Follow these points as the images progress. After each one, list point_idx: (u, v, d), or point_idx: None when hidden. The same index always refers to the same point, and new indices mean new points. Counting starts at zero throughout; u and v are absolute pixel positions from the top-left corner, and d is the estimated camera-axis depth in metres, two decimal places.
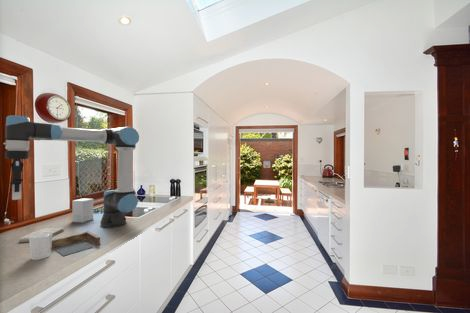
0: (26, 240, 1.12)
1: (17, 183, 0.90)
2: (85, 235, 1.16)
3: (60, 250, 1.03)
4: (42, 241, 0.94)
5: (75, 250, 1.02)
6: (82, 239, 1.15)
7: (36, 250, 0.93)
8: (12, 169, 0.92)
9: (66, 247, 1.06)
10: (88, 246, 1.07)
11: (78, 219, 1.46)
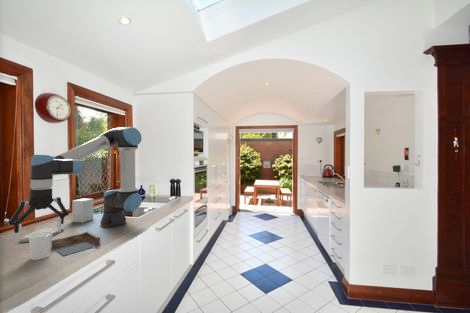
0: (26, 240, 1.12)
1: (11, 224, 0.89)
2: (85, 235, 1.16)
3: (60, 250, 1.03)
4: (42, 241, 0.94)
5: (75, 250, 1.02)
6: (82, 239, 1.15)
7: (36, 250, 0.93)
8: (28, 208, 0.94)
9: (66, 247, 1.06)
10: (88, 246, 1.07)
11: (78, 219, 1.46)
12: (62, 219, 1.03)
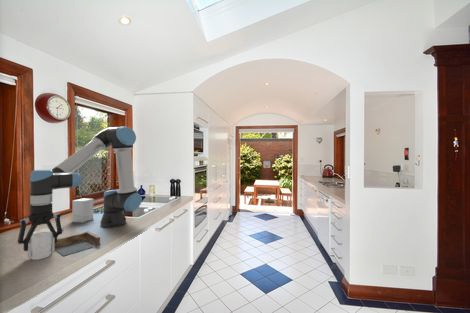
0: None
1: None
2: (85, 235, 1.16)
3: (60, 250, 1.03)
4: (42, 241, 0.94)
5: (75, 250, 1.02)
6: (82, 239, 1.15)
7: (36, 250, 0.93)
8: (31, 224, 0.95)
9: (66, 247, 1.06)
10: (88, 246, 1.07)
11: (78, 219, 1.46)
12: (55, 238, 1.01)
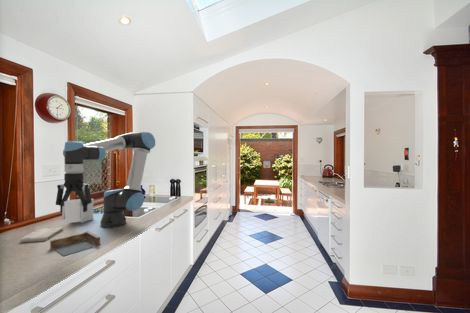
0: (28, 240, 1.12)
1: (88, 203, 1.07)
2: (85, 235, 1.16)
3: (60, 250, 1.03)
4: None
5: (75, 250, 1.02)
6: (82, 239, 1.15)
7: None
8: (79, 191, 1.04)
9: (66, 247, 1.06)
10: (88, 246, 1.07)
11: None
12: None
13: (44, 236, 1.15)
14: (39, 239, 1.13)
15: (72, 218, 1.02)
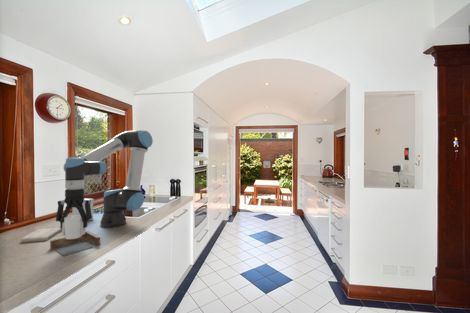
0: (29, 240, 1.12)
1: (88, 219, 1.07)
2: (85, 235, 1.16)
3: (60, 250, 1.03)
4: None
5: (75, 250, 1.02)
6: (82, 239, 1.15)
7: None
8: (79, 207, 1.05)
9: (66, 247, 1.06)
10: (88, 246, 1.07)
11: None
12: None
13: (45, 236, 1.16)
14: (40, 239, 1.14)
15: (72, 234, 1.02)
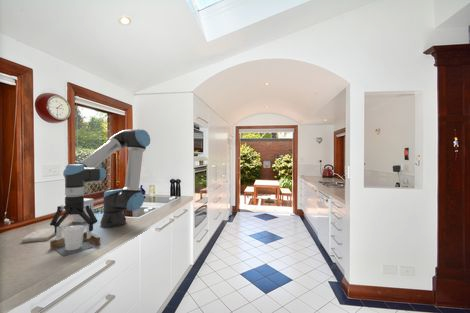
0: (29, 240, 1.12)
1: (94, 223, 1.07)
2: (85, 235, 1.16)
3: (60, 250, 1.03)
4: None
5: (75, 250, 1.02)
6: None
7: None
8: (81, 213, 1.05)
9: None
10: (88, 246, 1.07)
11: (78, 219, 1.46)
12: None
13: (46, 236, 1.16)
14: (41, 239, 1.14)
15: (72, 246, 1.02)
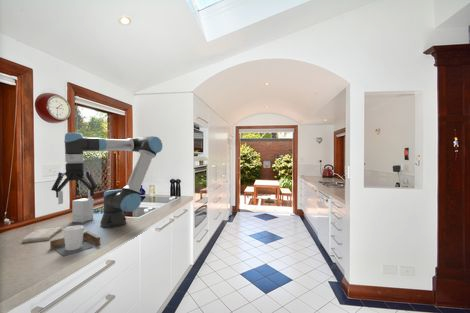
0: (30, 240, 1.13)
1: (95, 188, 1.14)
2: (85, 235, 1.16)
3: (60, 250, 1.03)
4: None
5: (75, 250, 1.02)
6: None
7: None
8: (81, 178, 1.11)
9: None
10: (88, 246, 1.07)
11: (78, 219, 1.46)
12: None
13: (47, 235, 1.16)
14: (42, 238, 1.14)
15: (72, 246, 1.02)
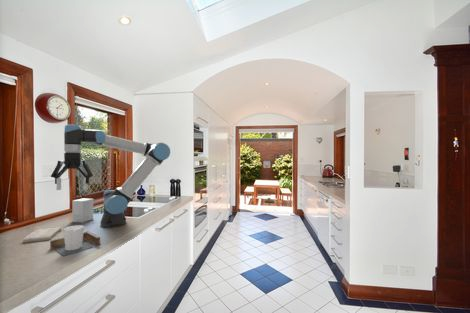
0: (31, 240, 1.13)
1: None
2: (85, 235, 1.16)
3: (60, 250, 1.03)
4: None
5: (75, 250, 1.02)
6: None
7: None
8: (78, 167, 1.20)
9: None
10: (88, 246, 1.07)
11: (78, 219, 1.46)
12: None
13: (47, 235, 1.17)
14: (43, 238, 1.14)
15: (72, 246, 1.02)
